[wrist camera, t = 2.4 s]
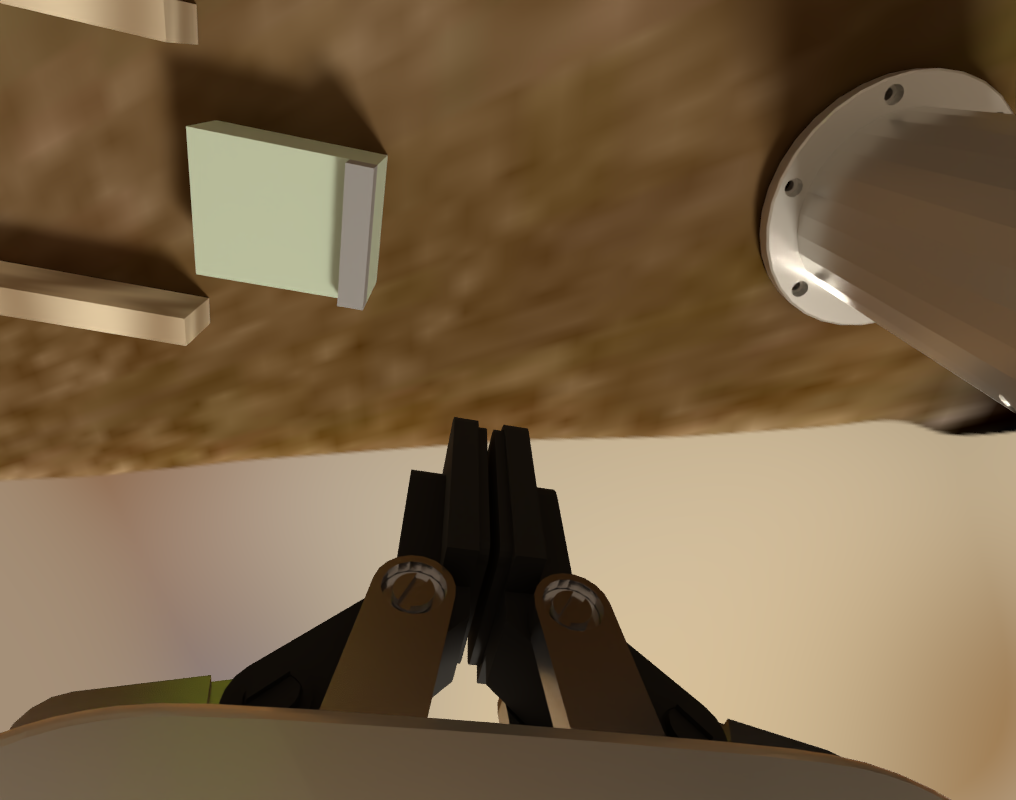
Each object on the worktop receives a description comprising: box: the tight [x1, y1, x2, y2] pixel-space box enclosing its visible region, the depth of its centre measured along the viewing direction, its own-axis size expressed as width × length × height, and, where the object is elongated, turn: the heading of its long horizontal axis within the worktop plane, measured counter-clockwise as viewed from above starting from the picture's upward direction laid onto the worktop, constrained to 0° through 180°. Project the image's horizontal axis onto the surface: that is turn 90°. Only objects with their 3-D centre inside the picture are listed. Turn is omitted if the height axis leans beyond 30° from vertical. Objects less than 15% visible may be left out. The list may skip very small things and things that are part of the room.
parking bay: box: [0, 0, 210, 346], centre depth 26 cm, size 15×15×3 cm
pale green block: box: [186, 120, 388, 310], centre depth 27 cm, size 8×6×4 cm
